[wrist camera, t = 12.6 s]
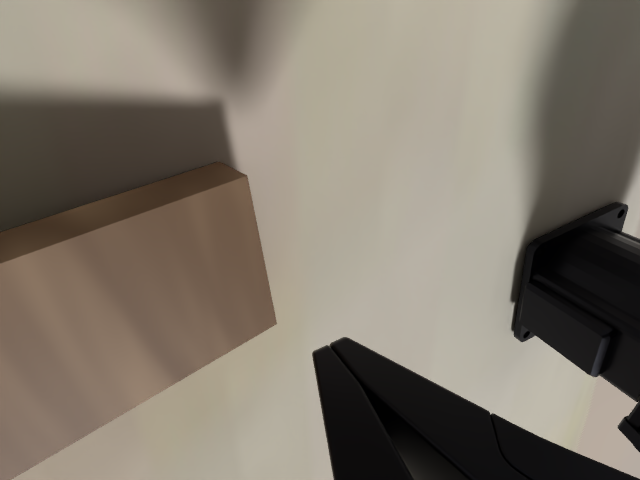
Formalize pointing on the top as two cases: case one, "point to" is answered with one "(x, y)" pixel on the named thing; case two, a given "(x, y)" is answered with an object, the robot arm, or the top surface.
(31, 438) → the domino
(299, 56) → the top surface
